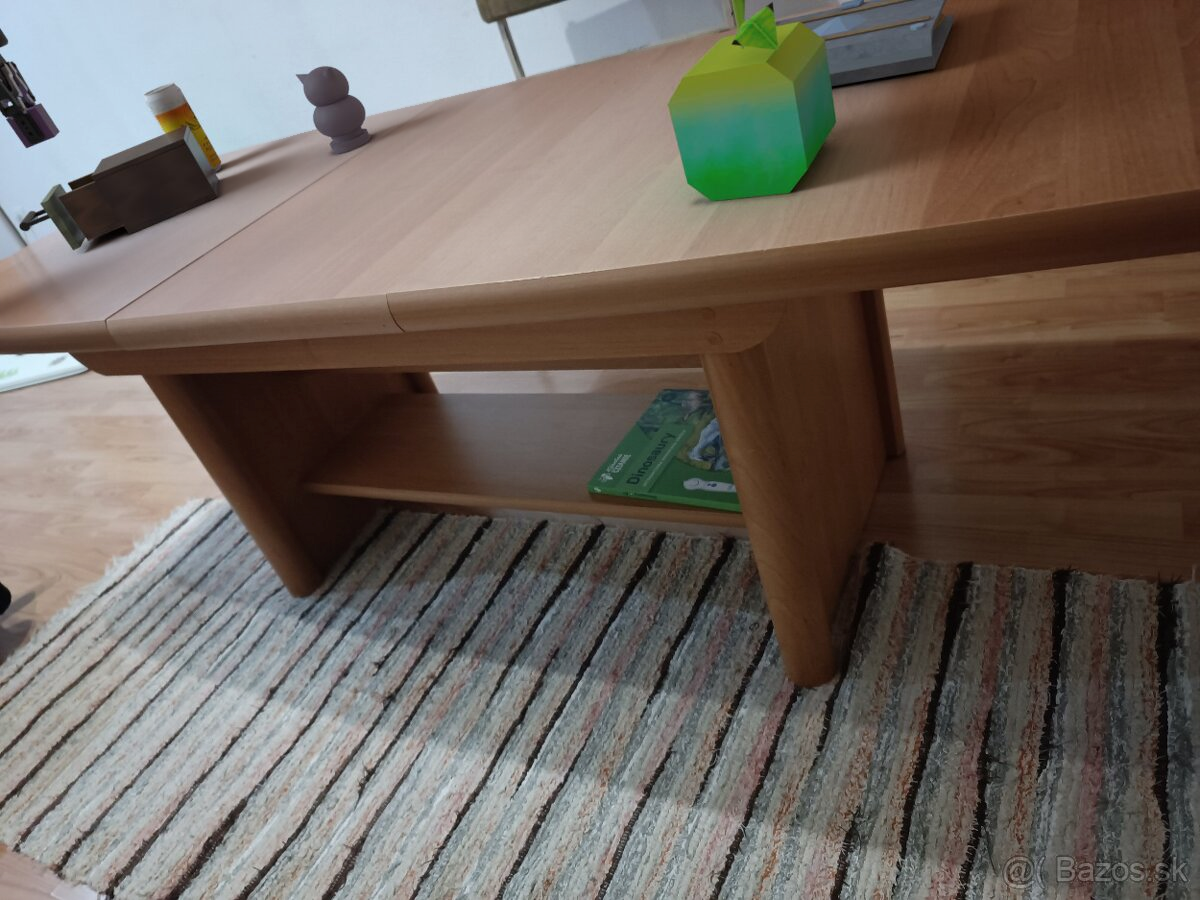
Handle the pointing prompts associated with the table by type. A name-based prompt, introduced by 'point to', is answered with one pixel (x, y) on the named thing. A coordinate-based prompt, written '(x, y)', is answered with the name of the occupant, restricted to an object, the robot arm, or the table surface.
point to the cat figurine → (335, 108)
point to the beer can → (179, 117)
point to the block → (42, 122)
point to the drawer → (76, 212)
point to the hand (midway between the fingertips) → (41, 138)
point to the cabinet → (156, 179)
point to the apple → (754, 109)
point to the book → (879, 37)
